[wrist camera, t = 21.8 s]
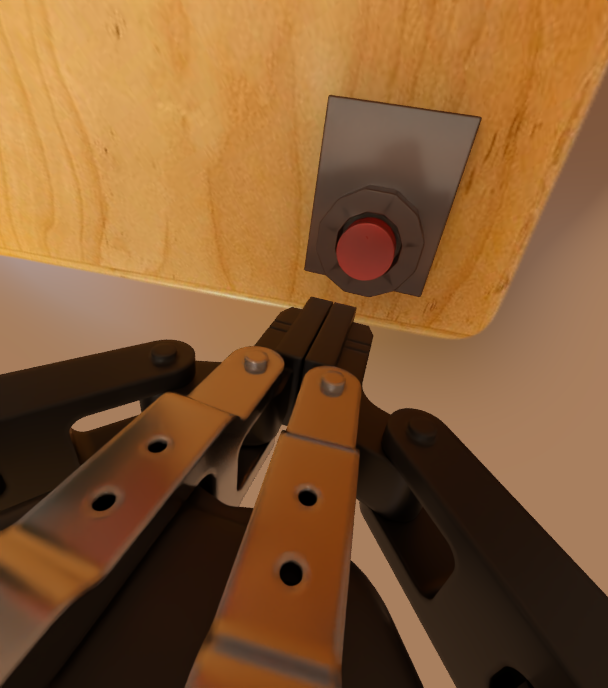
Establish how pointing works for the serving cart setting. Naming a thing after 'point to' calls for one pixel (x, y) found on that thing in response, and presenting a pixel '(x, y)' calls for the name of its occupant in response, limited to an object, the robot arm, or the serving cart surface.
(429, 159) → the switch block
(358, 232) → the power button
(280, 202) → the serving cart surface
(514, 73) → the serving cart surface
